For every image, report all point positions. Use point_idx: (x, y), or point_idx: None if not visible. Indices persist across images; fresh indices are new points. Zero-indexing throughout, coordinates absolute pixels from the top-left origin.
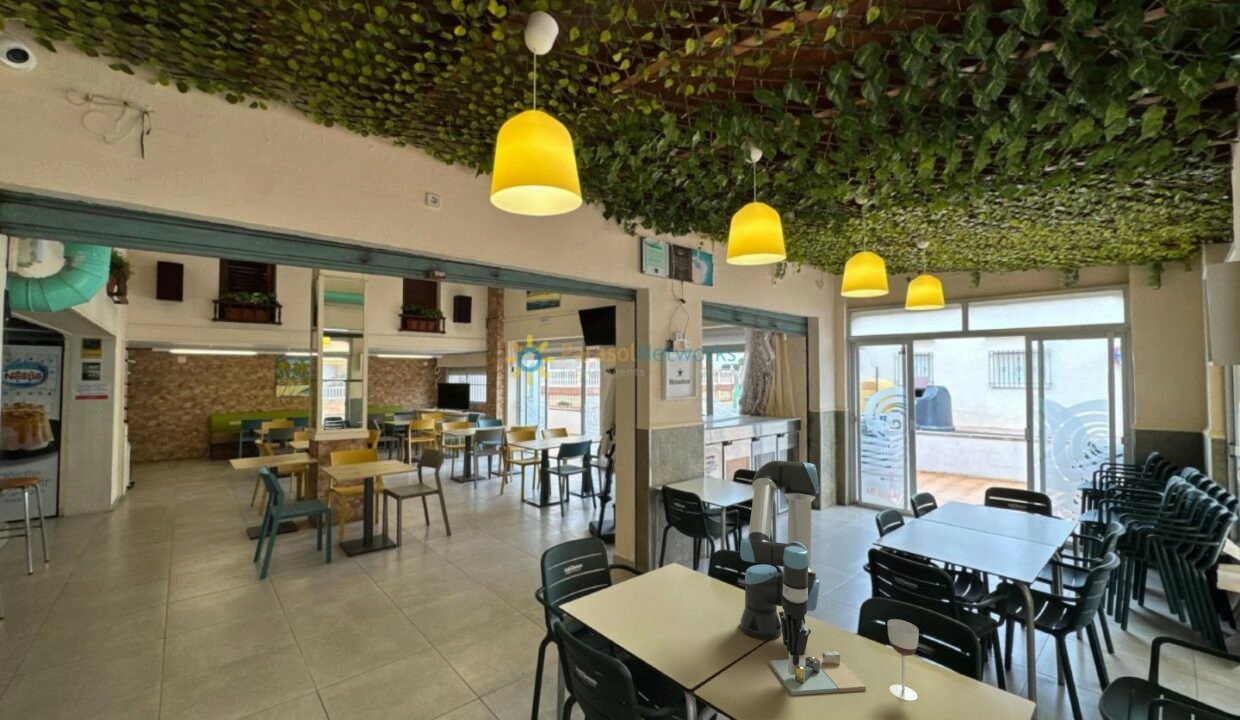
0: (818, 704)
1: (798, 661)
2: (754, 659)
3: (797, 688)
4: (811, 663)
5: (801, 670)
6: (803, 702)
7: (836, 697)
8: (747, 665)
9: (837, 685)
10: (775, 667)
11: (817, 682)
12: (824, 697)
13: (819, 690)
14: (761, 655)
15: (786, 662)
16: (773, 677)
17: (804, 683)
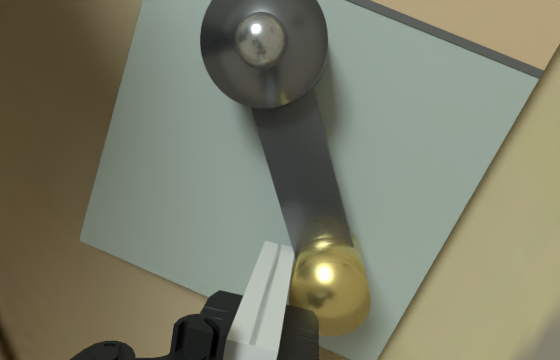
0: (513, 295)
1: (317, 341)
2: (26, 269)
3: (371, 321)
4: (291, 94)
5: (362, 320)
6: (447, 348)
7: (547, 139)
8: (61, 341)
9: (517, 51)
10: (149, 266)
11: (402, 159)
12: (495, 209)
13: (459, 210)
14: (3, 203)
15: (132, 159)
16: (201, 309)
17: (361, 246)
